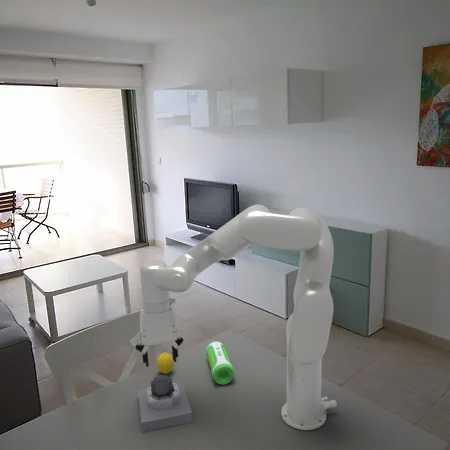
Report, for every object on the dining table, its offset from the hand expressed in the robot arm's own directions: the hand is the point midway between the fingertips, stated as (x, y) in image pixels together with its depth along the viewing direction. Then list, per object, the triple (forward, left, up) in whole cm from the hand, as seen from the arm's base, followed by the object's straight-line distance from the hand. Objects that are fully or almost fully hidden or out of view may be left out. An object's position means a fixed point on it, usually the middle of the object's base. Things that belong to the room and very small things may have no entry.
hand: (160, 361), depth 123 cm
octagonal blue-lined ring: (0, 0, -13) cm, 13 cm away
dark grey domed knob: (0, 0, -13) cm, 13 cm away
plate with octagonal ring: (0, 0, -16) cm, 16 cm away
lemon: (-3, -19, -16) cm, 25 cm away
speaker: (-21, -15, -16) cm, 30 cm away
